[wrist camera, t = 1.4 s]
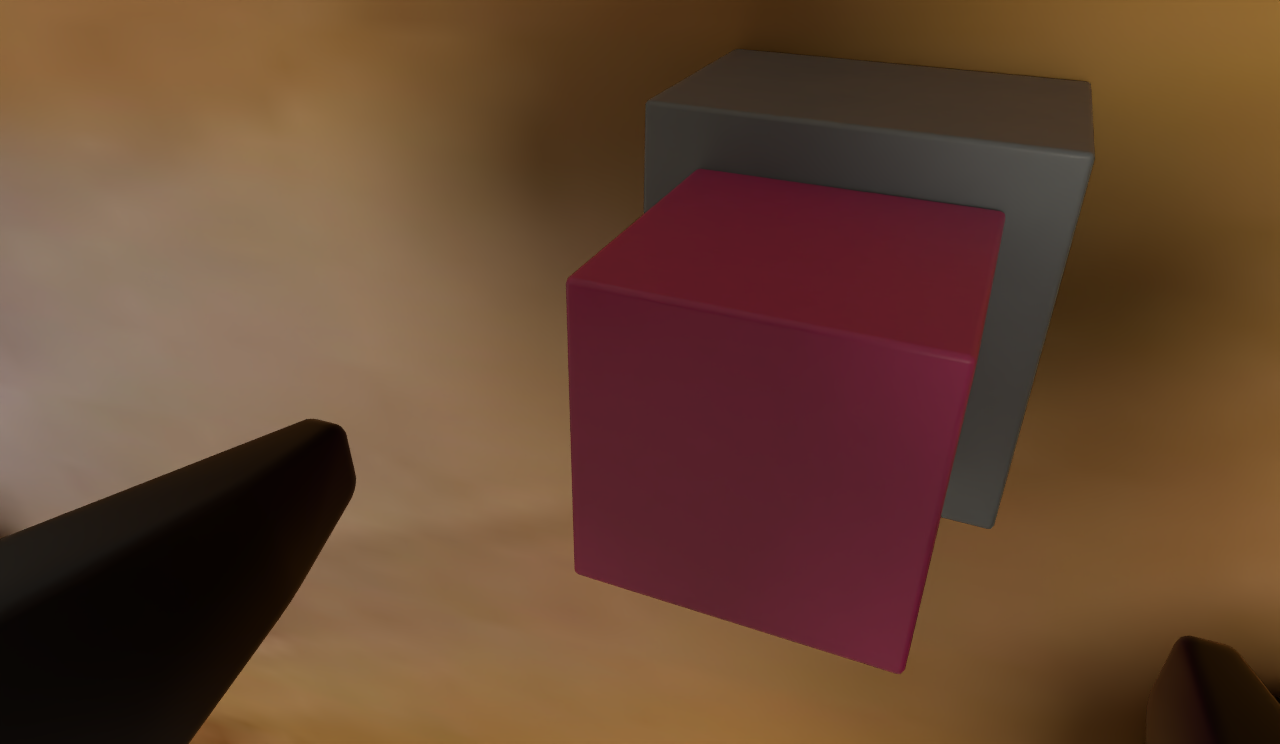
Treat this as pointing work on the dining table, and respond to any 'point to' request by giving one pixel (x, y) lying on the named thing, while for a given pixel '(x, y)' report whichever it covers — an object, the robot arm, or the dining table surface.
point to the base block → (910, 190)
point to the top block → (776, 403)
